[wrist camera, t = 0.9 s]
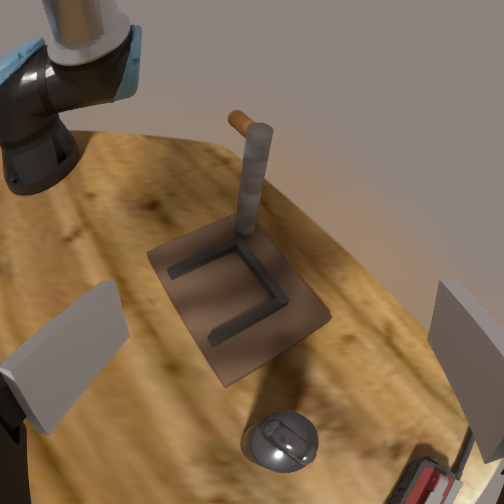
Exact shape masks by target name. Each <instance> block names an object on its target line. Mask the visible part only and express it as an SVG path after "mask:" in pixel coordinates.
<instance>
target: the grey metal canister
mask: <svg viewBox="0 0 504 504" xmlns="http://www.w3.org/2000/svg"><path fill="white" fill-rule="evenodd" d="M241 449H242V452H243V454H244V455H245V457H246V458H247V459H248V460H250V461H251V462H253V463H256V464H258V465H260V466H262V467H265V468H267V469H269V470H272V471H275V472H279V473H290V472H295V471H298V470H300V469H302V468H303V467H305V466H306V465H308V464H309V463H311V462H313V461H314V459H315V458H316V452H317V449H318V434H317V431H316V429H315V427H314V425H313V424H312V423H311V422H310V421H309V420H308V419H307V418H306V417H304V416H302V415H300V414H297V413H294V412H279V413H276V414H273V415H271V416H269V417H267V418H265V419H263V420H261V421H259V422H257V423H255V424H253V425H251V426H250V427H248V428H247V429H246V430H245V432H244V433H243V435H242V438H241Z"/></svg>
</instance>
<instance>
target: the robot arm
mask: <svg viewBox="0 0 504 504" xmlns="http://www.w3.org/2000/svg"><path fill="white" fill-rule="evenodd" d="M42 3H43V6H44V9H45V12H46V15H47V18H48V21H49V24H50V27H51V30H52V33H53V35H52V36H51V38H50V40H49V42H48V45H45V41H44V39H43V38H42V37H40V38H37V39H33V40H31V41H28V42H26V43H24V44H22V45H20V46H18V47H16V48H15V49H13V50H11V51H10V52H8V53H6V54H5V55H3V56H2V57H0V146H1V149H2V160H3V171H4V178H5V181H6V183H7V185H8V187H9V189H10V191H11V192H12V193H14V194H16V195H32V194H35V193H38V192H41V191H43V190H46V189H48V188H49V187H51V186H53V185H55V184H56V183H57V182H59V181H60V180H61V179H63V178H64V177H65V176H66V175H67V174H68V173H69V172H70V171H71V170H72V168H73V167H74V165H75V164H76V162H77V159H78V148H77V145H76V142H75V139H74V138H73V136H72V135H71V134H70V132H69V131H68V129H67V128H66V127H65V125H64V124H63V123H62V121H61V120H60V118H59V114H58V113H60V112H64V111H68V110H73V109H78V108H82V107H87V106H92V105H98V104H104V103H109V102H110V103H113V102H115V101H116V100H121V99H125V98H129V97H131V96H133V95H134V94H135V93H136V91H137V88H138V81H139V67H140V53H141V37H142V28H141V27H140V26H137V25H130V21H129V18H128V16H127V15H126V14H125V13H123V12H121V11H119V10H117V4H116V0H42ZM129 337H130V334H129V331H128V327H127V324H126V320H125V316H124V313H123V309H122V305H121V301H120V297H119V293H118V289H117V284H116V282H112V281H102V282H100V283H99V284H98V285H96V286H95V287H94V288H92V289H91V290H90V291H88V292H87V293H86V294H85V295H83V296H82V297H81V298H79V299H78V300H77V301H75V302H74V303H73V304H72V305H70V306H69V307H68V308H66V309H65V310H64V311H63V312H61V313H60V314H59V315H58V316H56V317H55V318H54V319H53V320H51V321H50V322H49V323H48V324H46V325H45V326H44V327H43V328H41V329H40V330H39V331H38V332H37V333H35V334H34V335H33V336H32V337H31V338H29V339H28V340H27V341H26V342H25V343H23V344H22V345H21V346H20V347H19V348H18V349H16V350H15V351H14V352H13V353H12V354H11V355H9V356H8V357H7V358H6V359H5V360H4V361H2V362H1V363H0V504H31V498H30V489H29V478H28V464H27V430H26V426H25V424H24V423H23V420H24V419H25V418H26V417H27V418H28V420H29V421H30V423H31V424H32V426H33V427H34V429H36V430H38V431H40V432H42V433H44V434H46V435H48V436H49V435H50V434H51V432H52V431H53V430H54V428H55V427H56V426H57V425H58V423H59V422H60V421H61V419H62V418H63V417H64V416H65V414H66V413H67V412H68V411H69V409H70V408H71V407H72V406H73V404H74V403H75V402H76V401H77V399H78V398H79V397H80V396H81V394H82V393H83V392H84V391H85V390H86V388H87V387H88V386H89V385H90V383H91V382H92V381H93V380H94V378H95V377H96V376H97V375H98V374H99V372H100V371H101V370H102V369H103V368H104V366H105V365H106V364H107V363H108V362H109V360H110V359H111V358H112V357H113V356H114V354H115V353H116V352H117V351H118V350H119V348H120V347H121V346H122V345H123V344H124V343H125V341H126V340H127V339H128V338H129ZM427 340H428V342H429V344H430V346H431V348H432V350H433V351H434V353H435V355H436V357H437V359H438V361H439V363H440V365H441V367H442V369H443V371H444V373H445V374H446V376H447V378H448V381H449V383H450V385H451V387H452V389H453V391H454V393H455V395H456V397H457V399H458V401H459V403H460V406H461V408H462V410H463V412H464V414H465V417H466V419H467V421H468V424H469V426H470V428H471V431H472V433H473V435H474V438H475V440H476V443H477V445H478V448H479V450H480V453H481V455H482V458H483V461H484V463H485V464H487V463H489V462H492V461H495V460H498V459H500V458H503V457H504V330H503V329H502V327H501V326H500V325H499V324H498V323H497V322H496V321H495V320H494V319H493V317H492V316H491V315H490V314H489V313H488V312H487V311H486V310H485V309H484V308H483V307H482V306H481V304H480V303H479V302H478V301H477V300H476V299H475V298H474V297H473V296H472V295H471V294H470V293H469V292H468V291H467V290H466V289H465V288H464V287H463V286H462V285H461V284H460V283H459V282H458V281H457V280H456V279H440V280H439V284H438V290H437V296H436V301H435V306H434V311H433V317H432V321H431V325H430V330H429V334H428V338H427ZM501 474H502V475H504V469H503V471H502V472H501ZM496 504H504V486H503V488H502V490H501V493H500V496H499V498H498V500H497V503H496Z"/></svg>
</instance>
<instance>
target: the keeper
mask: <svg viewBox="0 0 504 504" xmlns="http://www.w3.org/2000/svg"><path fill="white" fill-rule="evenodd" d="M228 122H229V124H230V125H231V126H233V127H234V128H235V129H236V130H237V131H238V132H239V133H240V134H241V135H243V136H244V137H245V138H246V142H245V149H244V157H243V165H242V173H241V181H240V189H239V197H238V206H237V213H236V214H234V215H231V216H229V217H226V218H224V219H222V220H219V221H217V222H215V223H212V224H210V225H207V226H205V227H203V228H200V229H198V230H196V231H193V232H191V233H189V234H186V235H184V236H182V237H180V238H177V239H175V240H173V241H170V242H168V243H166V244H164V245H161V246H159V247H157V248H155V249H152V250H150V251H148V252H147V256H148V259H149V261H150V263H151V265H152V267H153V269H154V271H155V273H156V274H157V276H158V278H159V280H160V282H161V284H162V285H163V287H164V289H165V291H166V293H167V294H168V296H169V298H170V300H171V302H172V303H173V305H174V307H175V309H176V310H177V312H178V314H179V315H180V317H181V319H182V321H183V322H184V324H185V326H186V327H187V329H188V331H189V332H190V334H191V336H192V337H193V339H194V341H195V342H196V344H197V345H198V347H199V349H200V350H201V352H202V354H203V355H204V357H205V358H206V360H207V361H208V363H209V365H210V366H211V368H212V369H213V371H214V372H215V374H216V375H217V377H218V378H219V380H220V382H221V383H222V385H223V386H224V388H226V387H228V386H230V385H232V384H233V383H235V382H237V381H238V380H240V379H242V378H243V377H245V376H247V375H248V374H250V373H252V372H253V371H255V370H257V369H258V368H260V367H261V366H263V365H265V364H266V363H268V362H269V361H271V360H273V359H274V358H276V357H277V356H279V355H280V354H282V353H284V352H285V351H287V350H288V349H290V348H291V347H293V346H294V345H296V344H297V343H299V342H300V341H302V340H303V339H305V338H306V337H308V336H309V335H310V334H312V333H313V332H315V331H316V330H318V329H319V328H321V327H322V326H323V325H325V324H326V323H328V322H329V321H330V319H331V318H332V316H331V315H330V313H329V312H328V311H327V310H326V308H325V307H324V306H323V305H322V303H321V302H320V301H319V300H318V298H317V297H316V296H315V295H314V294H313V292H312V291H311V290H310V289H309V287H308V286H307V285H306V284H305V282H304V281H303V280H302V279H301V278H300V276H299V275H298V274H297V273H296V271H295V270H294V269H293V268H292V267H291V265H290V264H289V263H288V262H287V261H286V259H285V258H284V257H283V256H282V254H281V253H280V252H279V251H278V250H277V248H276V247H275V246H274V245H273V244H272V242H271V241H270V240H269V239H268V238H267V236H266V235H265V234H264V233H263V232H262V230H261V229H260V228H259V227H258V226H257V224H256V217H257V212H258V207H259V202H260V197H261V192H262V186H263V181H264V176H265V171H266V166H267V161H268V155H269V150H270V145H271V140H272V135H273V129H272V127H271V126H269V125H267V124H264V123H255V122H254V121H253V120H252V119H250V118H249V117H248V116H247V115H245V114H244V113H243V112H241V111H239V110H234V111H232V112H230V114H229V116H228Z"/></svg>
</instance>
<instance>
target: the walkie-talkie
mask: <svg viewBox="0 0 504 504" xmlns="http://www.w3.org/2000/svg"><path fill="white" fill-rule="evenodd" d="M474 441H475V438H474V435H473V433H472V431H471V433H470V435H469V438H468V441H467V443H466V446H465V449H464V451H463V454H462V456H461V458H460V461H459V463H458V465H457V468H456V470H455V471H454V472H451V471H450V470H451V468H450V467H445V468H443V467H441V466H439V465H437V464H438V462H439V461H438V459H436V458H434V457H430V456H426V457H423V459H422V460H414V461H412V462H411V463H410V465H409V467H408V469H407V471H406V472H405V474H404V476H403V478H402V480H401V481H400V483H399V485H398V487H397V488H396V490H395V492H394V493H393V496H392V497H391V498H390V499H391V500H390V501H389V502H388V504H453V502H454V500H455V498H456V496H457V494H458V492H459V490H460V489H461V487H462V485H463V482H461V481H459V480H460V478H461V476H462V471H463V469H464V466H465V464H466V462H467V459H468V457H469V454H470V452H471V449H472V446H473V444H474Z"/></svg>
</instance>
